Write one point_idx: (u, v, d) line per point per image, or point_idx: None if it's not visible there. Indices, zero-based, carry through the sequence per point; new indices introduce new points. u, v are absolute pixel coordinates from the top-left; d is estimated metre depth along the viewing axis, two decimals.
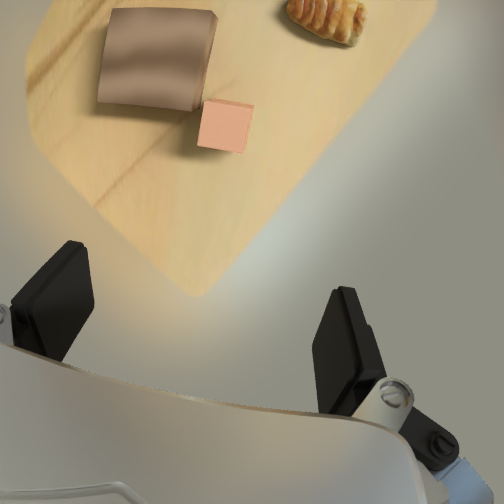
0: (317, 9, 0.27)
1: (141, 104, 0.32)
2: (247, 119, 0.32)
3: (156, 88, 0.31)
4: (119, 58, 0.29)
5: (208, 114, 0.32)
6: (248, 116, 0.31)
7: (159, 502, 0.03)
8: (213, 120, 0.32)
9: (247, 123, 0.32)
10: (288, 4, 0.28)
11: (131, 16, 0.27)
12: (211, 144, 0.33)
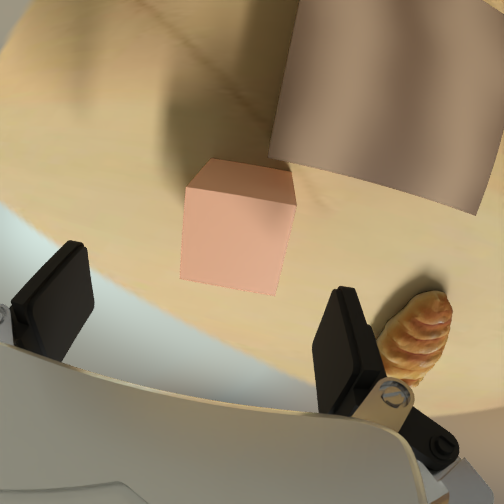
0: (425, 343, 0.22)
1: (296, 35, 0.12)
2: (252, 288, 0.16)
3: (333, 76, 0.12)
4: (420, 5, 0.10)
5: (262, 214, 0.14)
6: (259, 290, 0.17)
7: (159, 502, 0.03)
8: (249, 225, 0.15)
9: (244, 288, 0.17)
10: (439, 299, 0.21)
11: (502, 56, 0.10)
12: (190, 220, 0.15)
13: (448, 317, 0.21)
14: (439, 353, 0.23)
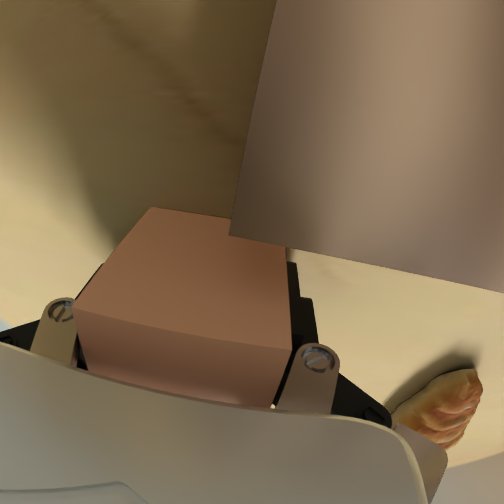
0: (446, 432, 0.14)
1: None
2: None
3: (382, 53, 0.05)
4: None
5: (221, 362, 0.07)
6: None
7: (159, 502, 0.03)
8: (198, 374, 0.07)
9: None
10: (469, 382, 0.14)
11: None
12: (95, 357, 0.07)
13: (477, 400, 0.14)
14: (460, 435, 0.15)
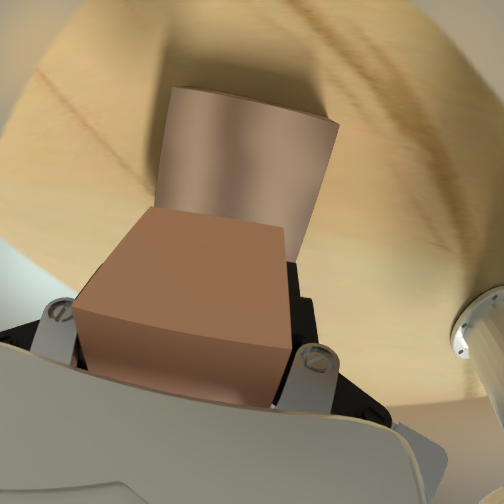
0: None
1: (160, 166, 0.23)
2: None
3: (182, 190, 0.24)
4: (241, 132, 0.21)
5: (221, 361, 0.07)
6: None
7: (159, 502, 0.03)
8: (198, 374, 0.07)
9: None
10: None
11: (314, 155, 0.22)
12: (94, 356, 0.07)
13: None
14: None
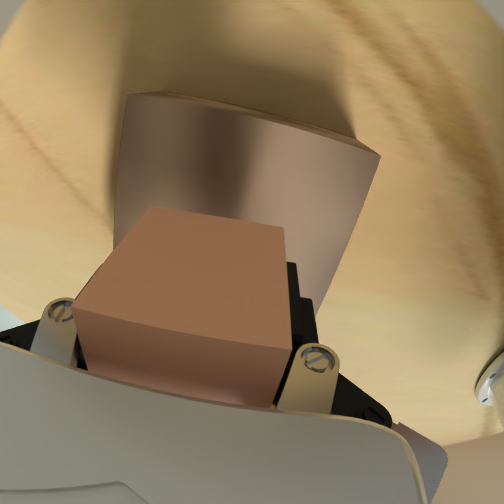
0: None
1: (116, 211, 0.16)
2: None
3: None
4: (231, 165, 0.14)
5: (221, 361, 0.07)
6: None
7: (159, 502, 0.03)
8: (198, 374, 0.07)
9: None
10: None
11: (340, 201, 0.15)
12: (95, 356, 0.07)
13: None
14: None
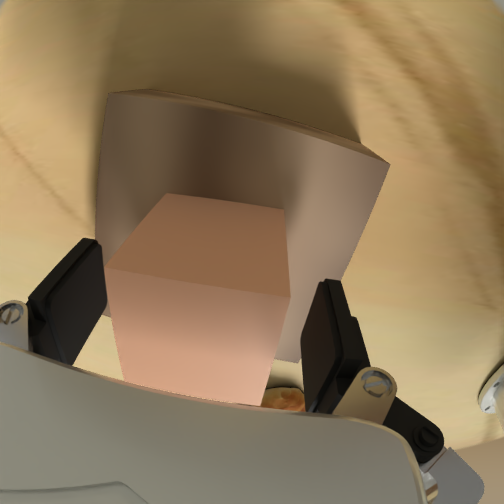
0: None
1: (97, 221, 0.14)
2: (226, 398, 0.10)
3: None
4: (223, 172, 0.13)
5: (231, 311, 0.08)
6: (236, 400, 0.10)
7: (160, 502, 0.03)
8: (211, 325, 0.09)
9: (214, 397, 0.10)
10: (282, 397, 0.25)
11: (344, 214, 0.13)
12: (121, 314, 0.09)
13: (296, 410, 0.25)
14: None
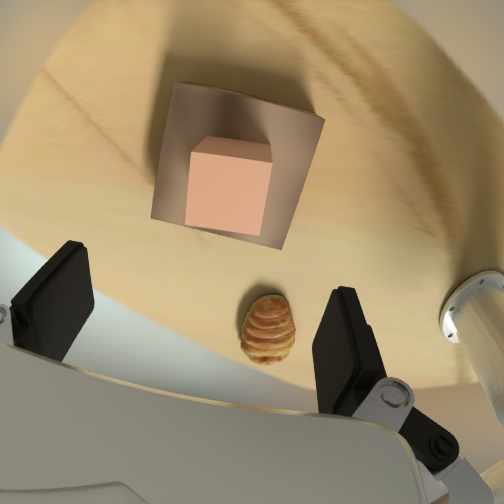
0: (267, 331, 0.36)
1: (161, 154, 0.25)
2: (241, 230, 0.21)
3: (181, 176, 0.26)
4: (236, 125, 0.24)
5: (247, 170, 0.19)
6: (246, 231, 0.21)
7: (159, 502, 0.03)
8: (238, 179, 0.20)
9: (235, 230, 0.21)
10: (270, 301, 0.36)
11: (301, 147, 0.24)
12: (194, 177, 0.20)
13: (282, 312, 0.36)
14: (286, 338, 0.37)
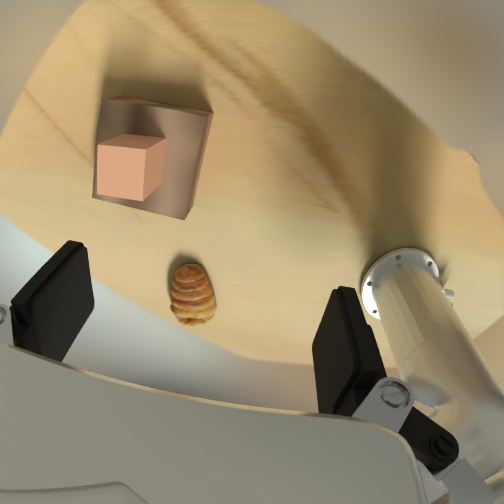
0: (186, 294, 0.43)
1: (96, 150, 0.32)
2: (131, 197, 0.29)
3: None
4: (143, 126, 0.31)
5: (131, 155, 0.27)
6: (134, 198, 0.29)
7: (159, 502, 0.03)
8: (125, 161, 0.27)
9: (127, 197, 0.29)
10: (187, 268, 0.43)
11: (189, 139, 0.32)
12: (100, 161, 0.27)
13: (197, 278, 0.43)
14: (204, 301, 0.44)
